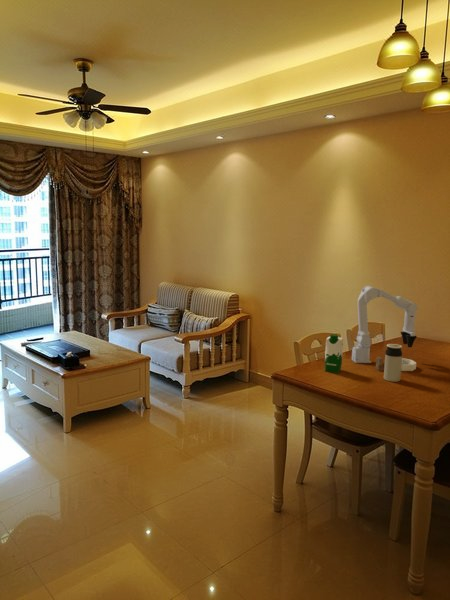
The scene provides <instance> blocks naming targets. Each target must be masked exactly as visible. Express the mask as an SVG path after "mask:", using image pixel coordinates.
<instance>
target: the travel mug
mask: <svg viewBox="0 0 450 600" xmlns="http://www.w3.org/2000/svg"><path fill="white" fill-rule="evenodd" d="M402 348H403V346H402V345H401V344H398V343H397V344H396V343H388V344H386V349H385V353H384V355H385V356H384V367H383V368H384V369H383V370H384V371H383V379H384V380H385V381H387V382H391V383H393V382H394V383H397V382H400V381H401V374H402V371H401V362H402V358H403V352H402Z"/></svg>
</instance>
